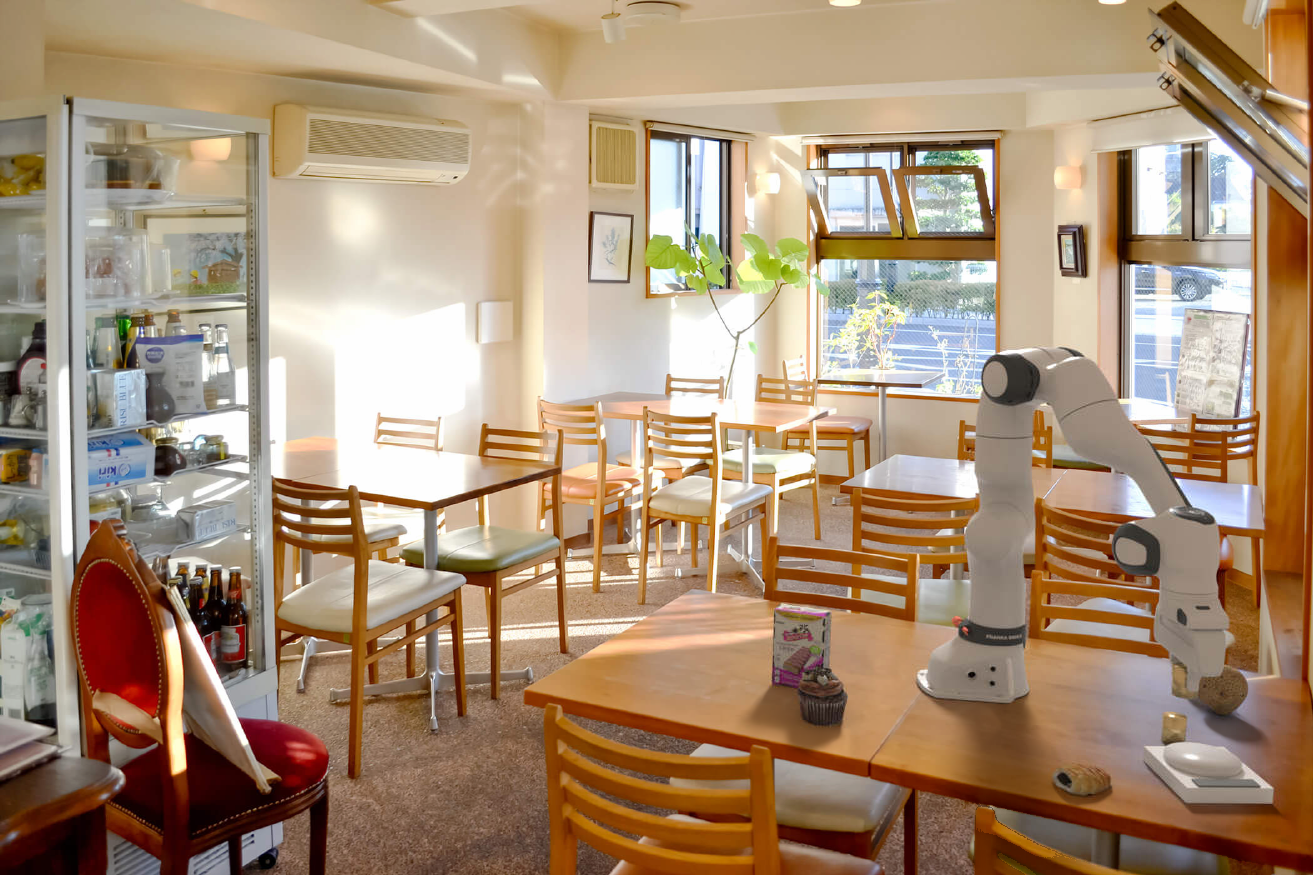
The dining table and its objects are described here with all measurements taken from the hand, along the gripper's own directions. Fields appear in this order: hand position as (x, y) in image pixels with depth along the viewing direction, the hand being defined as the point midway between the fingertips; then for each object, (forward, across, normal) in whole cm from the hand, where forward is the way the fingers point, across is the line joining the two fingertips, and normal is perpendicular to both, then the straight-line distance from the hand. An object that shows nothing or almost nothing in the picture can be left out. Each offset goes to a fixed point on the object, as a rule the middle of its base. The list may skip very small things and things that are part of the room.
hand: (1184, 684), depth 186 cm
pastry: (+16, +5, -18) cm, 25 cm away
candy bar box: (+14, -37, -62) cm, 74 cm away
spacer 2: (+16, -15, +4) cm, 22 cm away
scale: (+16, +1, +3) cm, 17 cm away
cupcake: (+14, -20, -59) cm, 64 cm away
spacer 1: (+2, 0, 0) cm, 2 cm away
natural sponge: (+17, -29, +18) cm, 38 cm away
